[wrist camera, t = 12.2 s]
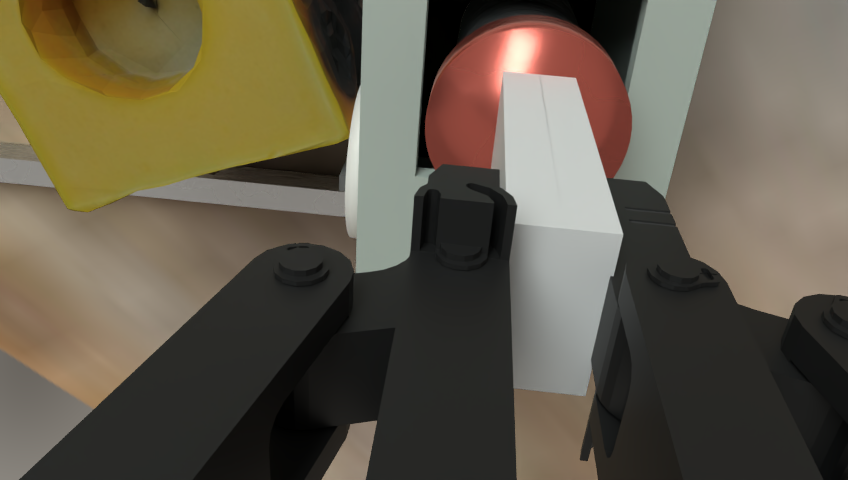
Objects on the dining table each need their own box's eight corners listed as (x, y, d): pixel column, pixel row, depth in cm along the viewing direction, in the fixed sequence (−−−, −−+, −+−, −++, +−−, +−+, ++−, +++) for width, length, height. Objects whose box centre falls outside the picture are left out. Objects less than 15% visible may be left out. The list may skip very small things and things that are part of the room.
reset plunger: (440, 98, 24) (418, 211, 17) (452, -46, 22) (432, 18, 15) (576, 110, 24) (610, 231, 17) (602, -33, 22) (652, 38, 15)
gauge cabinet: (378, 169, 33) (324, 334, 22) (396, -268, 25) (325, -330, 14) (581, 189, 32) (621, 366, 22) (666, -248, 24) (793, -296, 14)
